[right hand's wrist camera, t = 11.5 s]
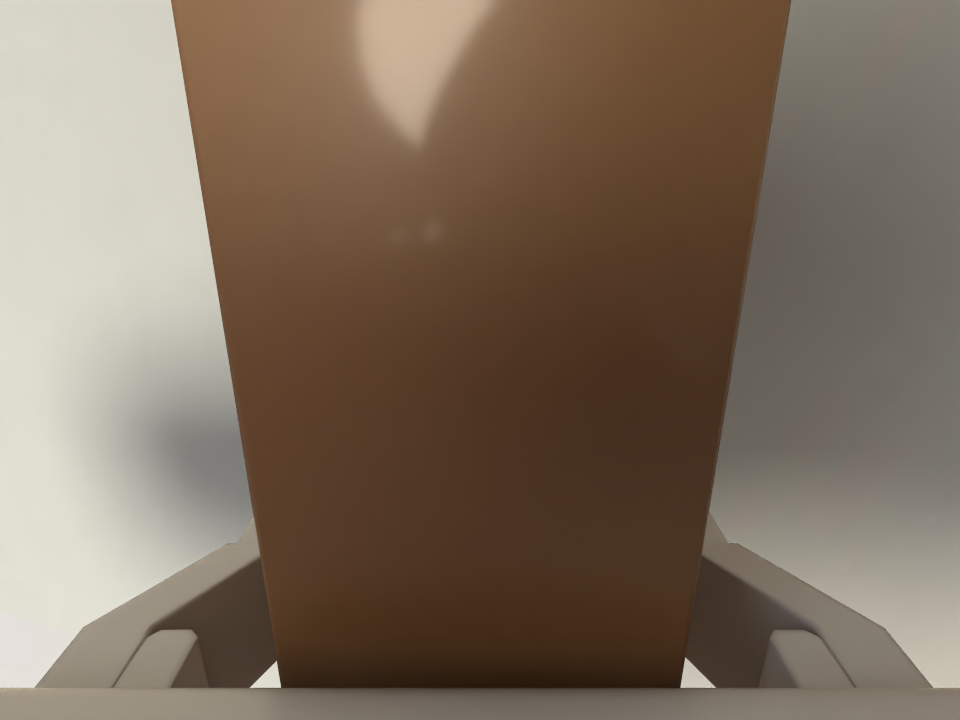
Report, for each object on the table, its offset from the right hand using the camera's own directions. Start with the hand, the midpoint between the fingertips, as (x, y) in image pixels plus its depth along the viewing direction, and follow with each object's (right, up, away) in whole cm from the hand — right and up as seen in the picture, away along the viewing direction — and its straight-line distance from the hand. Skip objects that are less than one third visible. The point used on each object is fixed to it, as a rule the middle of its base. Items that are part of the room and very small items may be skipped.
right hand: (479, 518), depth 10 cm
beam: (0, +21, -4) cm, 21 cm away
